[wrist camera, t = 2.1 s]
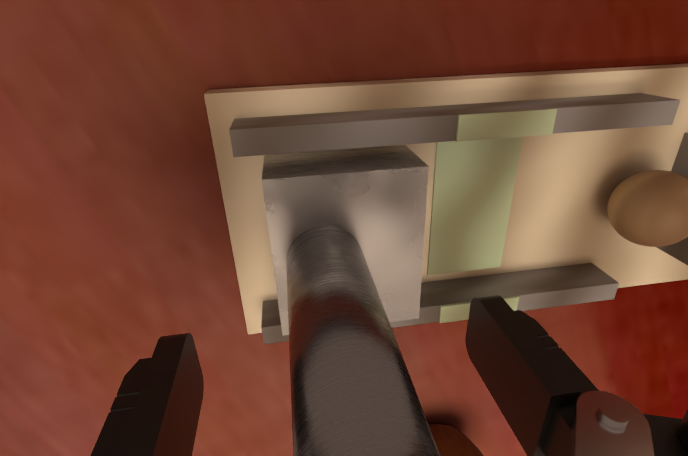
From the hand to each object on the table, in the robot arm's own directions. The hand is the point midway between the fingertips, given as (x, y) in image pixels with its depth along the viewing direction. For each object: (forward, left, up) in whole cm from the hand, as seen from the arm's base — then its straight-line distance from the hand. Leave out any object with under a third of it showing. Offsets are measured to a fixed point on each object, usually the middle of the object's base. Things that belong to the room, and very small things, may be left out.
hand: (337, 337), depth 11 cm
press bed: (-9, 0, -9) cm, 13 cm away
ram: (-1, 0, -8) cm, 8 cm away
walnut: (-16, 0, -8) cm, 18 cm away
